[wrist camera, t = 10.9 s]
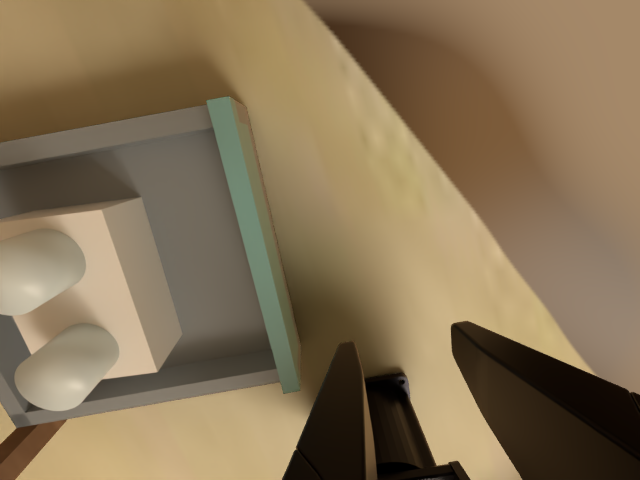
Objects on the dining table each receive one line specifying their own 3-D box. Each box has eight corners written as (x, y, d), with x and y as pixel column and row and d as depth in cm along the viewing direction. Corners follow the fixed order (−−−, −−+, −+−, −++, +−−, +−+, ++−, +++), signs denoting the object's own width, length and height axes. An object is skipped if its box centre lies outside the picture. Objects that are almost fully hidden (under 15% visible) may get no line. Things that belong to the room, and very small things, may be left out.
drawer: (246, 107, 17) (229, 96, 13) (301, 347, 22) (300, 390, 18) (-70, 165, 17) (-178, 171, 13) (54, 390, 22) (1, 442, 18)
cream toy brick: (141, 197, 17) (58, 223, 11) (182, 333, 20) (132, 410, 14) (34, 210, 17) (-102, 244, 11) (90, 346, 20) (3, 427, 14)
